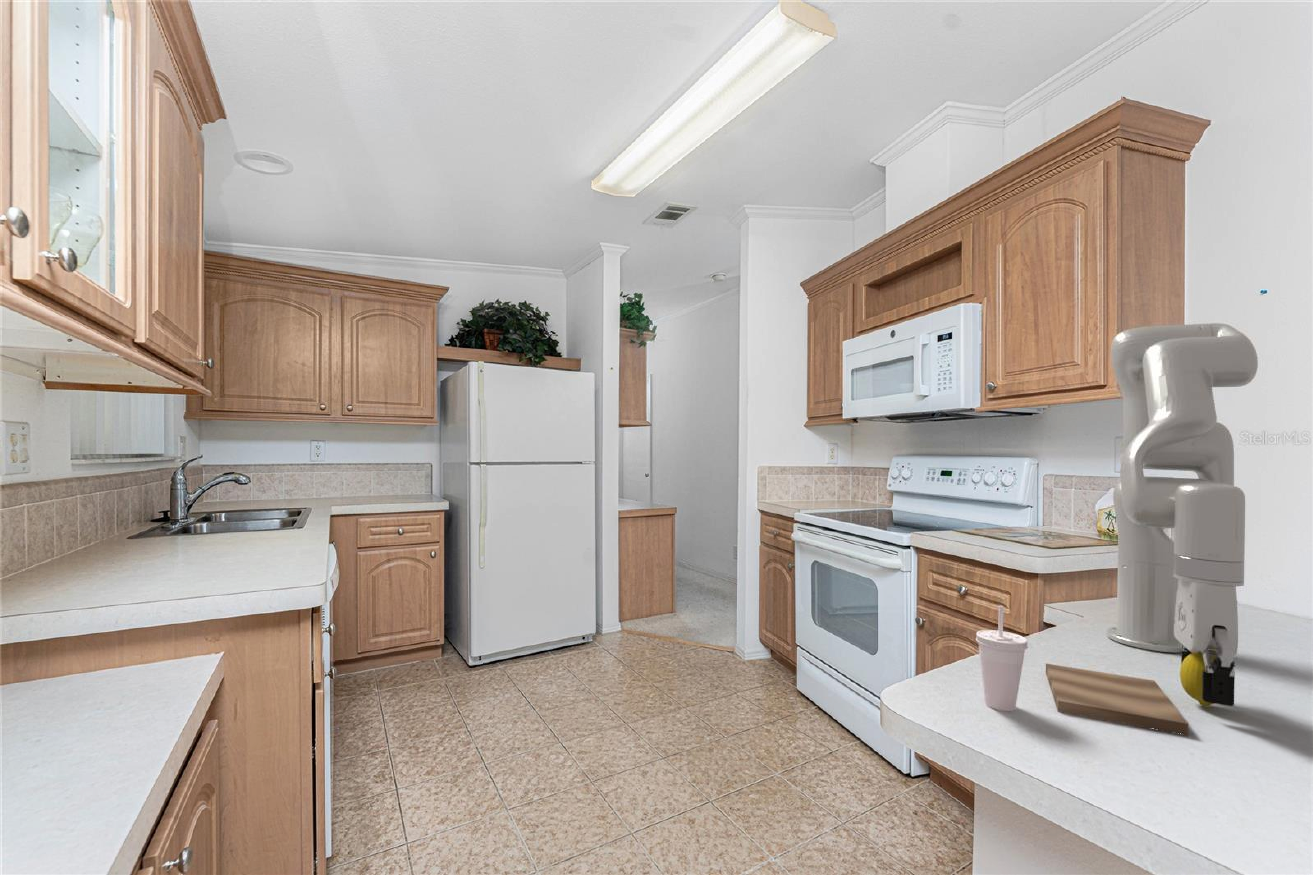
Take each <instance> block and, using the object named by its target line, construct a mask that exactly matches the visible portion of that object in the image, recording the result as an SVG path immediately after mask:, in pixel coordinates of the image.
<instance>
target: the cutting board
mask: <svg viewBox="0 0 1313 875" xmlns="http://www.w3.org/2000/svg"><path fill="white" fill-rule="evenodd" d="M1045 675H1046V679H1047V680H1048V685H1049V688H1050V691H1051V695H1052V697H1053V700H1054V701H1053V702H1054V703H1055V708H1056V710H1057V712H1058V713H1064V714H1069V715H1074V716H1075V715H1076V716H1080V717H1085V718H1091V719H1097V720H1101V721H1102V720H1103V721H1106V722H1107V721H1108V722H1113V723H1118V724H1123V725H1128V726H1133V727H1138V728H1139V727H1140V728H1144V727H1145V729H1149V728H1154V729H1158V730H1157V731H1159V730H1163V731H1162V732H1165V731H1167V732H1166V733H1170V732H1175V733H1179V734H1178V735H1181V734H1183V735H1182V736H1186V735H1188V736H1189V723H1188V722H1187V720H1186V719H1185V718H1184V716H1183V714H1181V713H1180V711H1179V710H1178V708H1176V706H1175V705H1174V703H1173V702H1172V701H1171V700H1170V699H1169V697H1168V696H1167V694H1165V692H1164V691H1163V689H1162V688H1161V687H1160V686H1159V685H1158V683H1157V682H1156V680H1153V679H1147V678H1141V677H1133V676H1127V675H1121V674H1115V673H1109V672H1101V671H1097V670H1089V669H1083V668H1078V667H1071V666H1064V665H1059V664H1058V665H1057V664H1053V663H1052V664H1051V663H1045ZM1154 729H1153V730H1154ZM1175 733H1174V734H1175ZM1180 733H1181V734H1180Z"/></svg>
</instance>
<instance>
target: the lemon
mask: <svg viewBox="0 0 1313 875" xmlns="http://www.w3.org/2000/svg"><path fill="white" fill-rule="evenodd" d="M1214 659H1215V658H1211V661H1212V663H1213V660H1214ZM1202 671H1206V669H1205V664H1204V659H1203V654H1202V652H1198V653H1197V654H1195V653H1192V654H1190V655H1188V656H1187V657H1186V658H1185V659H1184V660H1183V662H1182V665H1181V664H1180V668H1179V679H1180V683H1181V686H1182V688H1183V690H1184V691H1185V693H1186V694H1187V695H1188V696H1189V697H1190V698H1192V699H1193V700H1196V701H1197V702H1198V703H1199V704H1200V705H1201V706H1202V705H1203V706H1202V707H1204V706H1207V707H1206V708H1209V707H1210V706H1212V705H1215V703H1209V702H1205V701H1204V700H1203V699H1202Z"/></svg>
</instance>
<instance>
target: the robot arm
mask: <svg viewBox="0 0 1313 875" xmlns="http://www.w3.org/2000/svg"><path fill="white" fill-rule="evenodd" d="M1258 358H1259V357H1258V353H1257V351H1256V348H1255V346H1254V344H1253V343H1252V341H1251V339H1249V337H1248V336H1247V335H1246V334H1244V333H1242V332H1241V331H1240V330H1237V329H1236V328H1235V327H1233V326H1231V325H1230V324H1227V323H1193V324H1171V325H1169V324H1168V325H1149V326H1140V327H1134V328H1129V329H1126V330H1123V331H1121V332H1119V333H1117V335H1115V336H1114V338H1113V340H1112V341H1111V346H1110V362H1111V366H1112V371H1113V375H1114V377H1115V379H1116V382H1117V384H1118V386H1119V389H1120V392H1121V394H1122V402H1123V405H1122V406H1123V409H1122V410H1123V412H1122V414H1123V418H1122V419H1123V420H1122V421H1123V422H1122V423H1123V424H1122V426H1123V427H1122V450H1123V455H1122V458H1121V462H1120V470H1119V471H1120V472H1119V473H1120V481H1119V482H1118V483H1116V485H1115V486H1114V489H1113V495H1112V496H1113V498H1112V499H1113V506H1114V507H1113V508H1114V514H1115V519H1116V528H1117V582H1116V583H1117V584H1116V585H1117V586H1116V587H1117V592H1116V593H1117V594H1116V595H1117V597H1116V626H1113V627H1108V628H1107V629H1106V637H1108V638H1109V639H1110V640H1113V641H1115V642H1117V643H1121V644H1122V645H1125V646H1130V647H1134V648H1138V649H1143V650H1149V651H1154V652H1162V653H1180V654H1181V656H1180V657H1181V658H1180V661H1181V663H1180V666H1181V665H1182V662H1183V660H1184V659H1185V658H1186V657H1187V656H1188V655H1190V654H1192V653H1195V654H1197V653H1198V652H1202V654H1203V659H1204V664H1205V669H1206V671H1202V699H1203V700H1204V701H1205V702H1209V703H1215V704H1217V705H1222V706H1228V707H1233V706H1234V705H1235V679H1236V678H1235V677H1236V671H1235V667H1236V665H1235V664H1236V663H1235V661H1234V658H1235V657H1236V656H1237V654H1238V648H1239V647H1238V645H1239V616H1238V615H1239V614H1238V598H1237V588H1236V587H1244V586H1245V556H1246V555H1245V551H1246V550H1245V546H1246V545H1245V542H1246V540H1245V539H1246V538H1245V537H1246V534H1245V533H1246V494H1245V492H1244V491H1243V489H1241V488H1240V487H1238V486H1236V485H1235V450H1234V447H1235V446H1234V440H1233V436H1232V435H1231V432H1230V430H1229V429H1228V427H1227V426H1226V425H1224V424H1223V423H1220V422H1219V421H1218V416H1217V413H1216V406H1215V399H1214V398H1215V397H1214V393H1213V388H1238V387H1243V386H1244V387H1245V386H1246V385H1249V384H1250V383H1251V382H1252V381H1253V380H1254V379H1255V377H1256V376H1257V375H1256V374H1257V372H1258V368H1259V367H1258V366H1259V361H1258ZM1144 470H1154V471H1155V470H1156V471H1179V472H1180V471H1185V472H1186V471H1187V472H1193V473H1196V475H1197V477H1198V478H1189V477H1187V478H1186V477H1172V476H1145V474H1144ZM1165 529H1174V531H1173V532H1174V535H1173V536H1174V537H1173V538H1174V539H1172V538H1170V537H1169V536H1168V534H1167V533H1166V532H1165ZM1211 658H1215V659H1214V660H1213V663H1212V661H1211ZM1215 704H1214V705H1215Z"/></svg>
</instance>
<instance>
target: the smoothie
mask: <svg viewBox="0 0 1313 875" xmlns="http://www.w3.org/2000/svg"><path fill="white" fill-rule="evenodd" d="M997 623H998V624H997V625H998V628H997V630H996V629H983V630H978V631H976V634H975V636H976V637H975V641H976V642H977V643H978V649H979V659H980V668H981V678H982V686H983V694H984V697H983V698H984V703H985V705H986V706H987V705H988V706H987V707H988V708H991V709H994V710H997V711H1001V712H1014V711H1015V710H1016V706H1017V700H1018V695H1019V689H1020V681H1021V676H1022V670H1023V664H1024V658H1025V651H1026V650H1027V649H1028V648H1029V646H1028V639H1027V638H1026V637H1024V636H1022V635H1020V634H1017V633H1013V632H1009V631H1003V630H1004V606H1003V605H998V622H997Z"/></svg>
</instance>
